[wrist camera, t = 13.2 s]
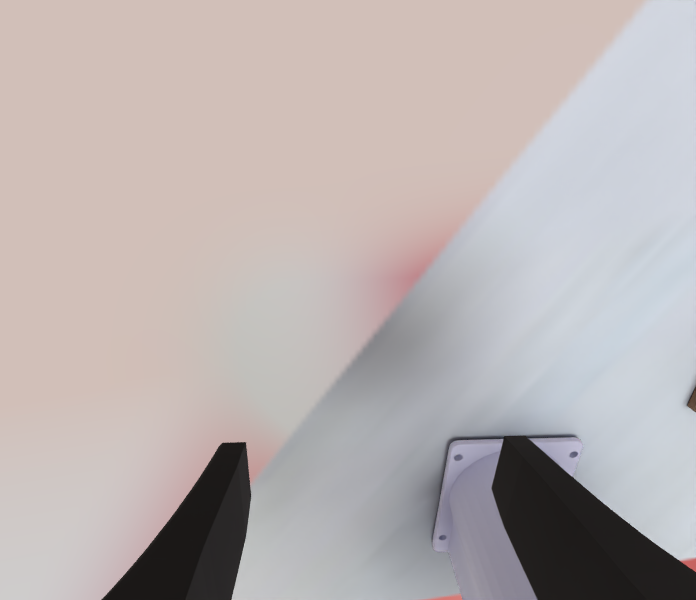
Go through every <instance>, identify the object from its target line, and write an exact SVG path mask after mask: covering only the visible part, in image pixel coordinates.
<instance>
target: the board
mask: <svg viewBox="0 0 696 600" xmlns="http://www.w3.org/2000/svg"><path fill="white" fill-rule="evenodd" d="M687 406H688V407H689V408H691V409H692V410H693V411H694V412H696V388H695V390H694V392H693V395H692V397H691V399H690V401H689V403H688V405H687Z"/></svg>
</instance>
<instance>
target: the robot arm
mask: <svg viewBox="0 0 696 600" xmlns="http://www.w3.org/2000/svg"><path fill="white" fill-rule="evenodd" d="M583 447H584V444H583V443H582V441H581V440H580V439H579V438H575V437H571V438H529V439H528V438H527V437H526V436H504V439H486V440H457V441H454V442H452V443H451V444H450V446H449V451H448V457H447V462H446V468H445V473H444V479H443V485H442V490H441V496H440V501H439V507H438V513H437V518H436V524H435V529H434V535H433V540H432V546H433V549H434V550H435V551H437V552H449V555H450V559H451V562H452V565H453V569H454V572H455V576H456V579H457V582H458V586H459V589H460V593H461V596H462V599H463V600H696V572H695V571H693V570H692V569H690V568H689V567H687V566H686V565H684V564H683V563H682V562H680V561H679V560H677V559H676V558H675V557H673V556H672V555H670V554H669V553H668V552H666V551H665V550H663V549H662V548H660V547H659V546H658V545H656V544H655V543H653V542H652V541H651V540H649V539H648V538H647V537H645V536H644V535H643V534H641V533H640V532H639V531H638V530H636V529H635V528H634V527H632V526H631V525H630V524H629V523H627V522H626V521H625V520H623V519H622V518H621V517H620V516H618V515H617V514H616V513H615V512H613V511H612V510H611V509H610V508H608V507H607V506H606V505H605V504H604V503H602V502H601V501H600V500H599V499H597V498H596V497H595V496H594V495H593V494H592V493H590V492H589V491H588V490H587V489H586V488H584V487H583V486H582V485H581V484H580V483H579V482H577V481H576V480H575V479H574V478H573V475H574V472H575V469H576V467H577V464H578V461H579V458H580V456H581V453H582V450H583ZM458 454H459V455H458ZM455 455H457V456H455ZM250 501H251V490H250V480H249V470H248V459H247V449H246V443H245V442H240V443H239V442H237V443H222V444H221V445H220V446H219V447H218V449H217V451H216V452H215V454H214V456H213V457H212V459H211V461H210V462H209V464H208V465H207V467H206V468H205V470H204V472H203V473H202V475H201V476H200V478H199V479H198V481H197V482H196V484H195V485H194V487H193V488H192V490H191V491H190V492H189V494H188V495H187V496H186V498H185V499H184V501H183V502H182V503H181V505H180V506H179V508H178V509H177V511H176V512H175V513H174V514H173V516H172V517H171V518H170V520H169V521H168V522H167V524H166V525H165V526H164V527H163V529H162V530H161V531H160V532H159V534H158V535H157V536H156V538H155V539H154V540H153V541H152V543H151V544H150V545H149V547H148V548H147V549H146V550H145V551H144V553H143V554H142V555H141V556H140V557H139V558H138V560H137V561H136V562H135V563H134V564H133V566H132V567H131V568H130V569H129V570H128V571H127V572H126V574H125V575H124V576H123V577H122V578H121V579H120V580H119V581H118V582H117V584H116V585H115V586H114V587H113V588H112V589H111V590H110V591H109V592H108V593H107V595H106V596H105V597H104V598H103V599H102V600H231V599H232V594H233V590H234V586H235V582H236V577H237V573H238V569H239V564H240V560H241V556H242V551H243V547H244V542H245V538H246V532H247V524H248V517H249V509H250Z"/></svg>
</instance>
